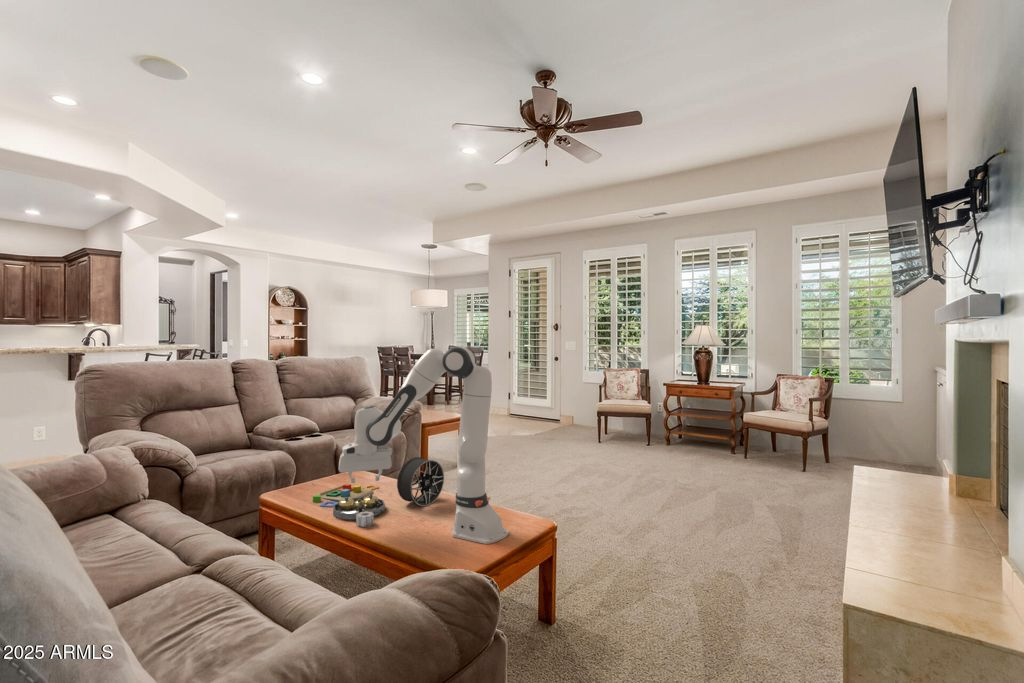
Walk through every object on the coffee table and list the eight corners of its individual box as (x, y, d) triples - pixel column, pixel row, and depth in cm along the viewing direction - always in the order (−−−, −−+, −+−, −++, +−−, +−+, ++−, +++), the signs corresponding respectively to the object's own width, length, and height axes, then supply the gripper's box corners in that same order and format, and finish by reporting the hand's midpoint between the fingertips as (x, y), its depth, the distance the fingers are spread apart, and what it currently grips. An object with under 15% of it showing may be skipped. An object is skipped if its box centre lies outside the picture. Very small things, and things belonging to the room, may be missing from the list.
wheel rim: (410, 511, 211) (411, 465, 211) (396, 506, 216) (397, 461, 216) (443, 499, 227) (444, 456, 227) (430, 495, 232) (430, 453, 232)
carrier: (394, 510, 212) (394, 497, 212) (352, 524, 195) (352, 510, 195) (365, 499, 225) (365, 487, 225) (323, 512, 208) (323, 499, 208)
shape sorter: (358, 484, 251) (358, 475, 251) (386, 489, 242) (386, 480, 242) (302, 503, 221) (302, 493, 221) (333, 510, 212) (333, 500, 212)
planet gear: (376, 523, 197) (377, 513, 197) (362, 528, 191) (362, 518, 191) (367, 519, 201) (367, 510, 201) (352, 524, 195) (353, 514, 195)
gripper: (391, 443, 203) (390, 476, 203) (338, 446, 195) (338, 481, 195) (393, 446, 197) (392, 481, 197) (339, 450, 189) (338, 486, 189)
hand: (365, 481), depth 196 cm, fingers open, 8 cm apart
